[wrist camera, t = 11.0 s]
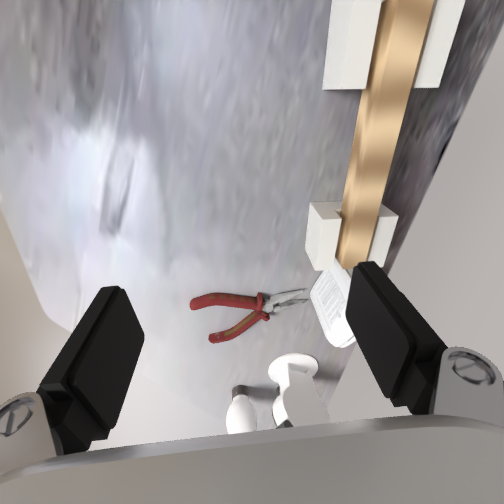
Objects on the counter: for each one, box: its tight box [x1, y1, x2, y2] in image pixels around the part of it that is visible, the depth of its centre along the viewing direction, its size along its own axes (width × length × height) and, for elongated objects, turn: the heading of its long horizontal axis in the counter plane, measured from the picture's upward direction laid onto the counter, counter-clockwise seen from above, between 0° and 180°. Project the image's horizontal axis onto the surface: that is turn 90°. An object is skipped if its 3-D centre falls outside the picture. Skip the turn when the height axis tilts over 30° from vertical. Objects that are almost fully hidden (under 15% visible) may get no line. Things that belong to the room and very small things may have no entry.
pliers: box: [190, 289, 306, 343], centre depth 47 cm, size 12×20×3 cm, turn 106°
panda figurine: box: [268, 353, 331, 429], centre depth 53 cm, size 12×11×15 cm
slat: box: [335, 0, 434, 269], centre depth 30 cm, size 28×3×4 cm, turn 1°
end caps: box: [305, 0, 465, 271], centre depth 32 cm, size 30×10×6 cm, turn 1°
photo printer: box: [310, 258, 356, 348], centre depth 40 cm, size 10×4×12 cm, turn 159°
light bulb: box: [226, 385, 257, 434], centre depth 58 cm, size 7×7×11 cm
